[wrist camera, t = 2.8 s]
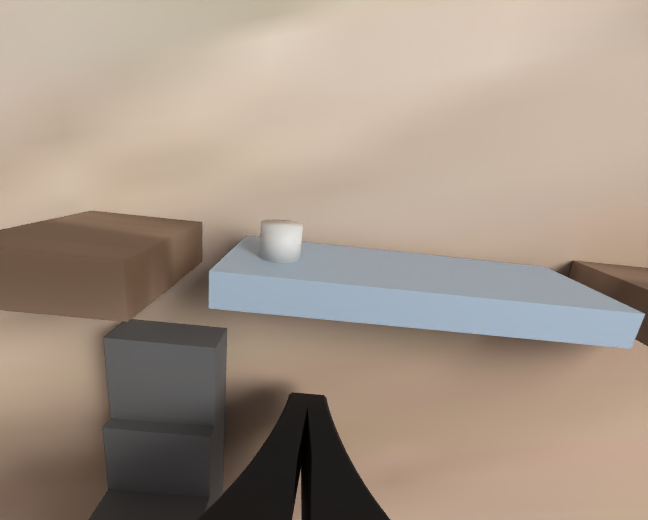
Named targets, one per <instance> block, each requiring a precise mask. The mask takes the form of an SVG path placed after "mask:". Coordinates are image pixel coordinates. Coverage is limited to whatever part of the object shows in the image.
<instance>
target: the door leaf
mask: <svg viewBox="0 0 648 520" xmlns="http://www.w3.org/2000/svg"><path fill="white" fill-rule="evenodd" d="M302 231H303V225H302V224H300V223H297V222H293V221H287V220H264V221H262V222H261V234H260V237H251V236H245V237H244V238H243V239H242V240H241V241H240V242H239V243H238V244H237V245H236V246H235V247H234V248H233V249H232V250H231V251H230V252H228V253H227V254H226V255H225V256H224V257H223V258H222V259H221V260H220V261H219V262H218V263H217V264H216V265H215V266H214V267H213V268H212V269H211V270H209V309H220V310H230V311H241V312H251V313H262V314H272V315H283V316H293V317H304V318H314V319H325V320H335V321H346V322H356V323H366V324H377V325H387V326H398V327H408V328H419V329H429V330H440V331H450V332H461V333H471V334H482V335H492V336H503V337H513V338H523V339H534V340H544V341H555V342H565V343H576V344H586V345H597V346H607V347H618V348H628V349H631V348H632V345H633V343H634V340H635V338H636V336H637V333H638V331H639V328H640V326H641V323H642V321H643V319H644V316H645V314H644V313H642V312H640V311H638V310H636V309H634V308H632V307H629V306H627V305H625V304H623V303H621V302H619V301H617V300H615V299H612V298H610V297H608V296H606V295H604V294H602V293H600V292H598V291H596V290H593V289H591V288H589V287H587V286H585V285H583V284H581V283H579V282H576V281H574V280H572V279H570V278H568V277H566V276H564V275H562V274H560V273H557V272H555V271H553V270H551V269H549V268H547V267H544V266H534V265H524V264H515V263H505V262H495V261H485V260H475V259H466V258H456V257H446V256H436V255H427V254H417V253H407V252H397V251H387V250H378V249H368V248H358V247H348V246H339V245H329V244H319V243H309V242H302Z"/></svg>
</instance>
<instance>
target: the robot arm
mask: <svg viewBox="0 0 648 520" xmlns="http://www.w3.org/2000/svg"><path fill="white" fill-rule="evenodd" d="M300 469H301V503H302V520H390V519H389V517H388V516H387V515H386V513H385V512H384V511H383V509H382V508H381V507H380V505H379V504H378V503H377V501H376V500H375V499H374V497H373V496H372V495H371V493H370V491H369V490H368V488H367V487H366V485H365V484H364V482H363V481H362V479H361V477H360V476H359V474H358V472H357V471H356V469H355V467H354V465H353V464H352V462H351V460H350V458H349V456H348V454H347V452H346V450H345V448H344V446H343V444H342V442H341V439H340V437H339V435H338V432H337V430H336V428H335V425H334V422H333V420H332V417H331V414H330V411H329V407H328V403H327V398H326V397H325V396H324V395H315V394H304V393H293V392H292V393H291V394H289V397H288V400H287V403H286V405H285V408H284V410H283V412H282V414H281V416H280V418H279V420H278V421H277V423H276V425H275V427H274V428H273V430H272V432H271V433H270V435H269V437H268V438H267V440H266V441H265V443H264V444H263V446H262V447H261V449H260V450H259V452H258V453H257V454H256V456H255V457H254V458H253V460H252V461H251V462H250V464H249V465H248V466H247V467H246V469H245V470H244V471H243V472H242V474H241V475H240V476H239V477H238V478H237V479H236V480H235V482H234V483H233V484H232V485H231V486H230V487H229V488H228V489H227V490H226V491H225V493H224V494H223V495H222V496H221V497H220V498H219V499H218V500H217V501H215V502H214V503H213V504H212V505H211V506H210V507H209V508H208V509H207V510H206V511H205V512H204V513H203V514H202V515H201V516H200V517H199V518H198V519H197V520H292V516H293V510H294V504H295V498H296V493H297V487H298V481H299V475H300Z"/></svg>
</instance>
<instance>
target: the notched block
mask: <svg viewBox="0 0 648 520" xmlns="http://www.w3.org/2000/svg"><path fill="white" fill-rule="evenodd" d="M103 339H104V350H105V361H106V373H107V384H108V395H109V406H110V417H111V418H110V420H109V421H108V422H107V423H106V424H105V426H104V427H103V428H102V429H103V439H104V449H105V459H106V469H107V479H108V491H107V492H106V494H105V496H104V497H103V499H102V500H101V502H100V503H99V505H98V506H97V508H96V509H95V511H94V512H93V514H92V515H91V517H90V518H89V520H197V519H198V518H199V517H200V516H201V515H202V514H203V513H204V512H205V511H206V510H207V509H208V508H209V507H210V506H211V505H212V504H213V503H214V502H215V501H217V500H218V499H219V498H220V497H221V496H222V495H223V469H224V430H225V392H226V354H227V328H219V327H208V326H198V325H187V324H176V323H166V322H155V321H144V320H134V319H131V320H129V321H128V322H122V323H121V324H120V325H119V326H117V327H116V328H115V329H114V330H112V331H111V332H110V333H109V334H107V335H106V336H105V337H104V338H103Z"/></svg>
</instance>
